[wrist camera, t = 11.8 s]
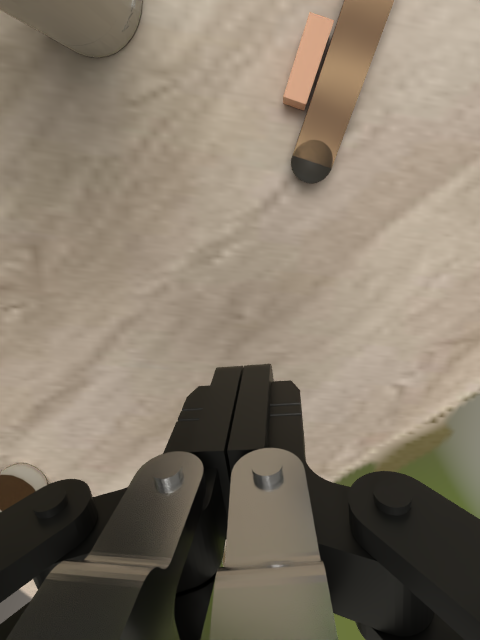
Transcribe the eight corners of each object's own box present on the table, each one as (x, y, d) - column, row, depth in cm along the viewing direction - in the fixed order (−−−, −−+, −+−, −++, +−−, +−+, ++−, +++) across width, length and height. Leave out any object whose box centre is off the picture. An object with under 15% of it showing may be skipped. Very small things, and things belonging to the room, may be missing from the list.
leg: (395, -153, 29) (411, -198, 26) (439, -137, 30) (461, -181, 26) (286, 175, 38) (286, 175, 35) (320, 186, 38) (323, 188, 35)
